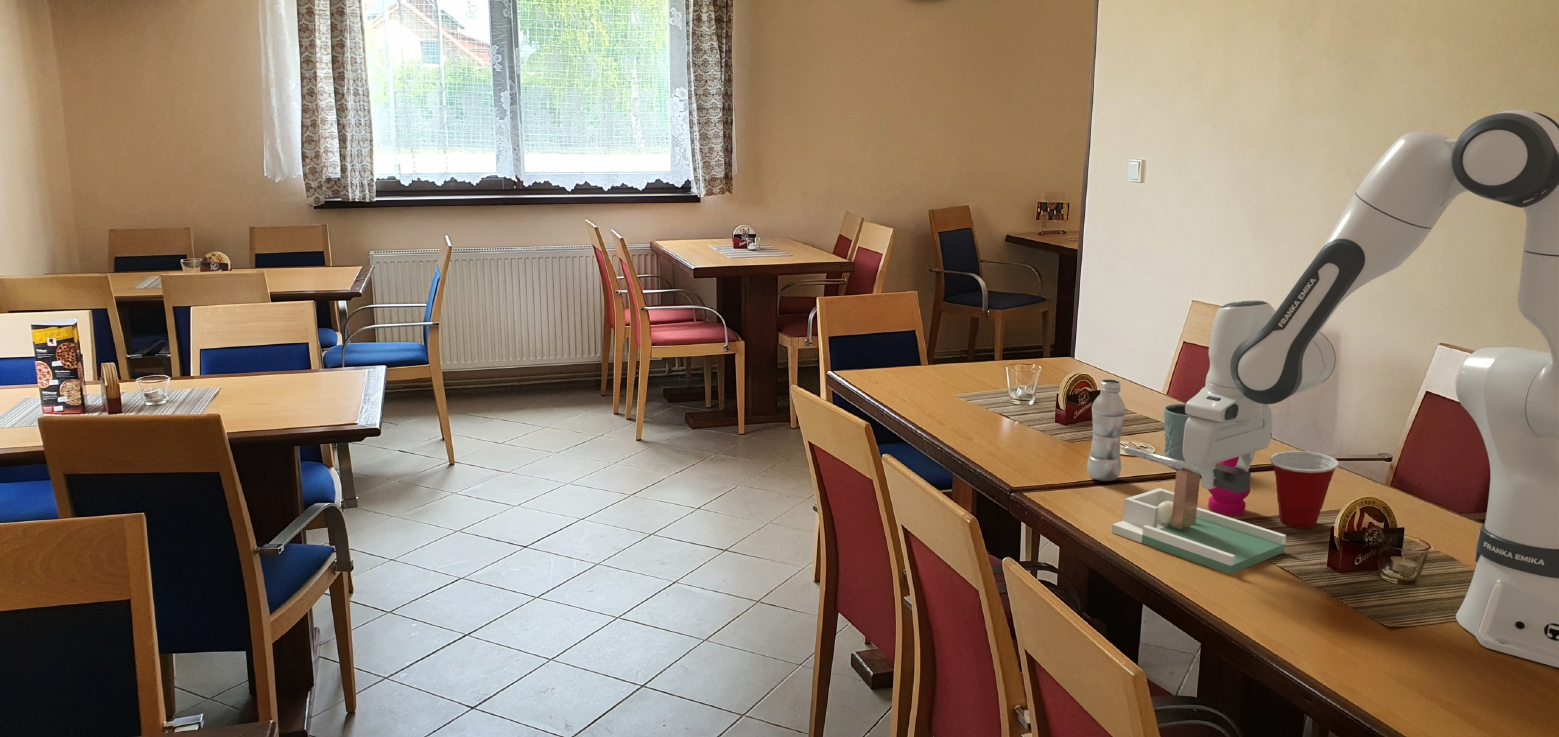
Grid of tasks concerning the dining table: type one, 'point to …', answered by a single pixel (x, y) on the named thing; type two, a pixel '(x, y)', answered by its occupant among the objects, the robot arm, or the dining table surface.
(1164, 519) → the ball
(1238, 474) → the kicker rod
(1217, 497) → the pepper mill
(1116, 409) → the plastic bottle
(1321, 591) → the dining table surface
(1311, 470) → the plastic cup
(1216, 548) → the pitch
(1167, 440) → the grey textured cup
